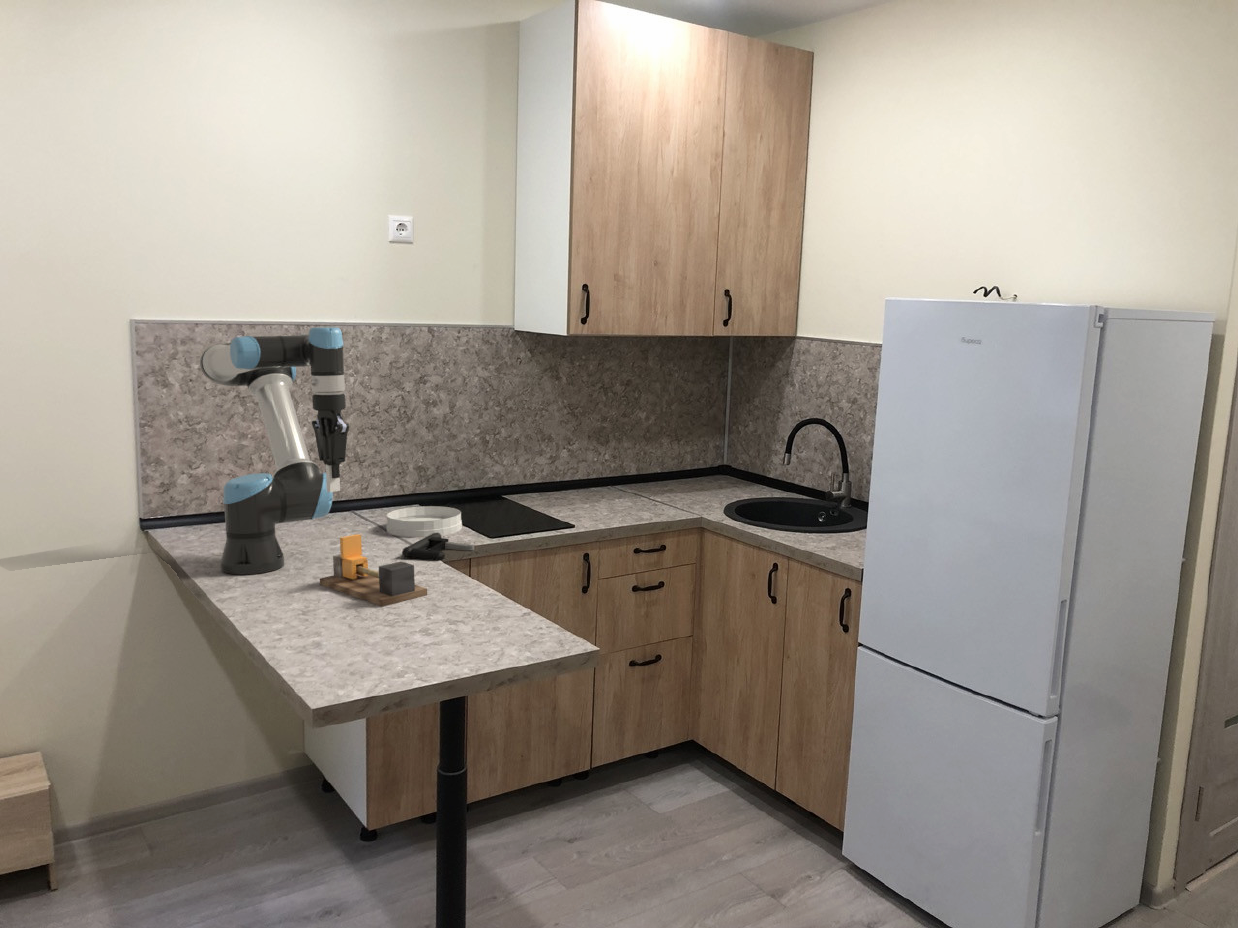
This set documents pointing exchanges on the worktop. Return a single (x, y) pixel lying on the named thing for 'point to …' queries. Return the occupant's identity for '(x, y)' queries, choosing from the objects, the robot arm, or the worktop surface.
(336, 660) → the worktop surface
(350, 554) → the orange sliding rod block
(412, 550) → the door handle
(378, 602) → the rail
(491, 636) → the worktop surface
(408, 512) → the dish
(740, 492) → the worktop surface
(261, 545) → the robot arm
